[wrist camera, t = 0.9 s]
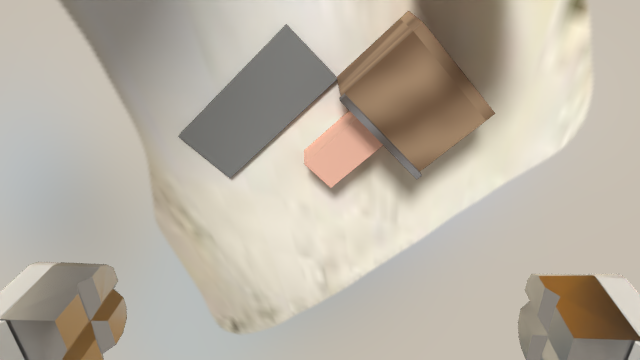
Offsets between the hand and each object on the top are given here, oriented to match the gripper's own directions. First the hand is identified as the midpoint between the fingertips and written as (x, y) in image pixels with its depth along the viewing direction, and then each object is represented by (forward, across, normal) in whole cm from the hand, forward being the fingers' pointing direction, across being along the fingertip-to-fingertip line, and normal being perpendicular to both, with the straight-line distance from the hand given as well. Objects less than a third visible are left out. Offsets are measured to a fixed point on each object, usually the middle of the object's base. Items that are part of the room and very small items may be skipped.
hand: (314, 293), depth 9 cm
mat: (+36, +10, +8) cm, 38 cm away
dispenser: (+37, -5, +6) cm, 38 cm away
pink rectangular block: (+37, -2, +10) cm, 39 cm away
